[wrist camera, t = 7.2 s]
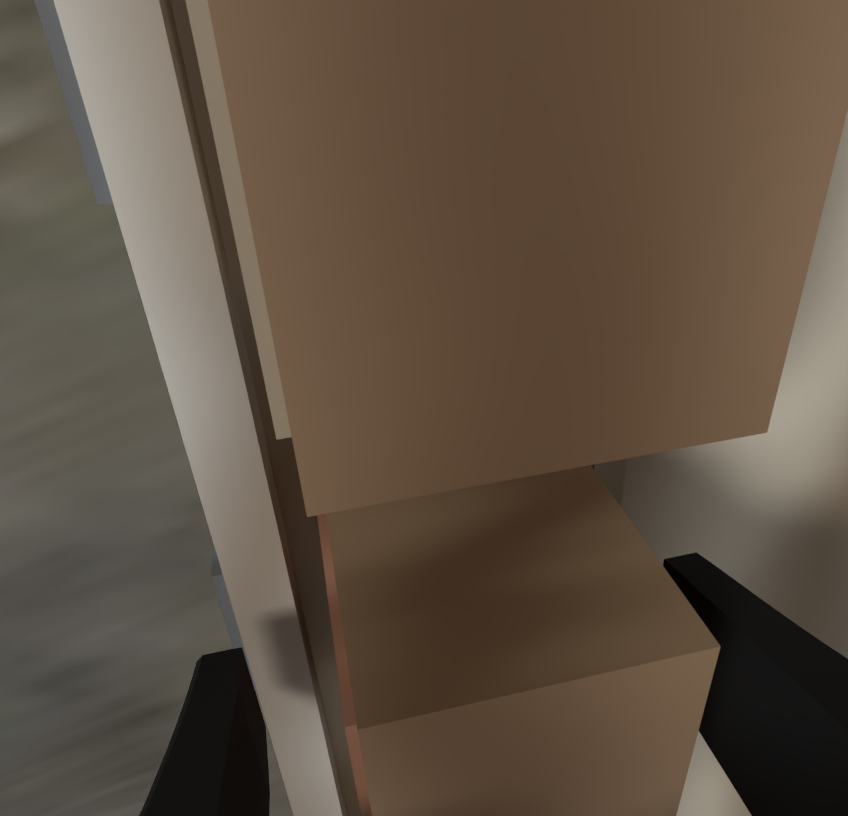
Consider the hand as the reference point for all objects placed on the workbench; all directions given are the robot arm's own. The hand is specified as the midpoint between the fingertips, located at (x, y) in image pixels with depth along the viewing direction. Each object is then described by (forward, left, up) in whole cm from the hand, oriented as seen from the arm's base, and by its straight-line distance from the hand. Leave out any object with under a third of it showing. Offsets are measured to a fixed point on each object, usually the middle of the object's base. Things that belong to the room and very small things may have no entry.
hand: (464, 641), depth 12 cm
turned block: (0, 0, -2) cm, 2 cm away
